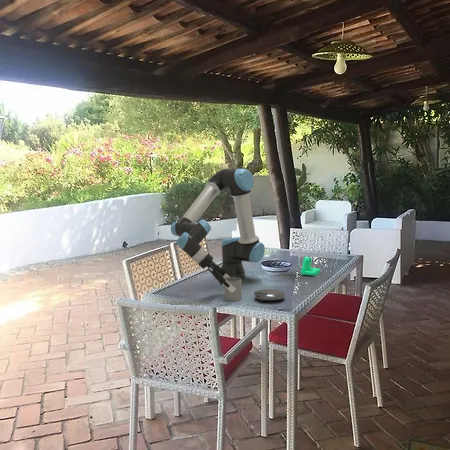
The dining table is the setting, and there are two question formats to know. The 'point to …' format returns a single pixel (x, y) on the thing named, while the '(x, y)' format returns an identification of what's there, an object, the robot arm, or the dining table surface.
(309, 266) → the camera mount
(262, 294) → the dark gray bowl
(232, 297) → the cup
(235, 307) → the dining table surface
